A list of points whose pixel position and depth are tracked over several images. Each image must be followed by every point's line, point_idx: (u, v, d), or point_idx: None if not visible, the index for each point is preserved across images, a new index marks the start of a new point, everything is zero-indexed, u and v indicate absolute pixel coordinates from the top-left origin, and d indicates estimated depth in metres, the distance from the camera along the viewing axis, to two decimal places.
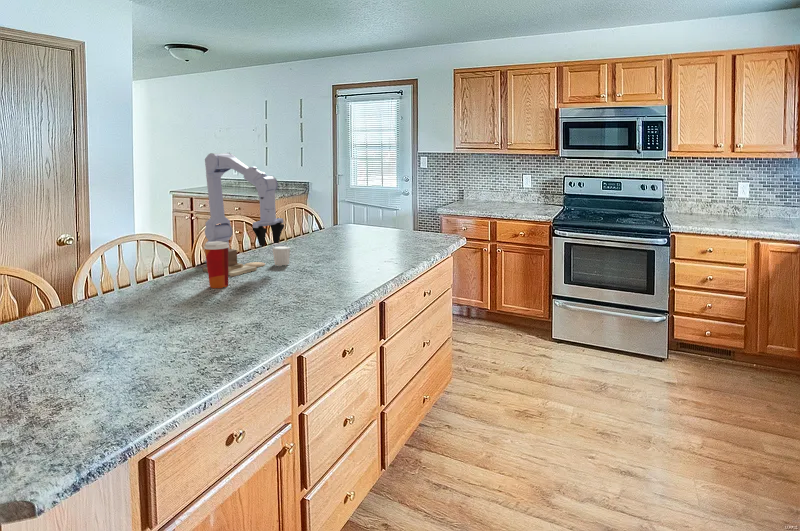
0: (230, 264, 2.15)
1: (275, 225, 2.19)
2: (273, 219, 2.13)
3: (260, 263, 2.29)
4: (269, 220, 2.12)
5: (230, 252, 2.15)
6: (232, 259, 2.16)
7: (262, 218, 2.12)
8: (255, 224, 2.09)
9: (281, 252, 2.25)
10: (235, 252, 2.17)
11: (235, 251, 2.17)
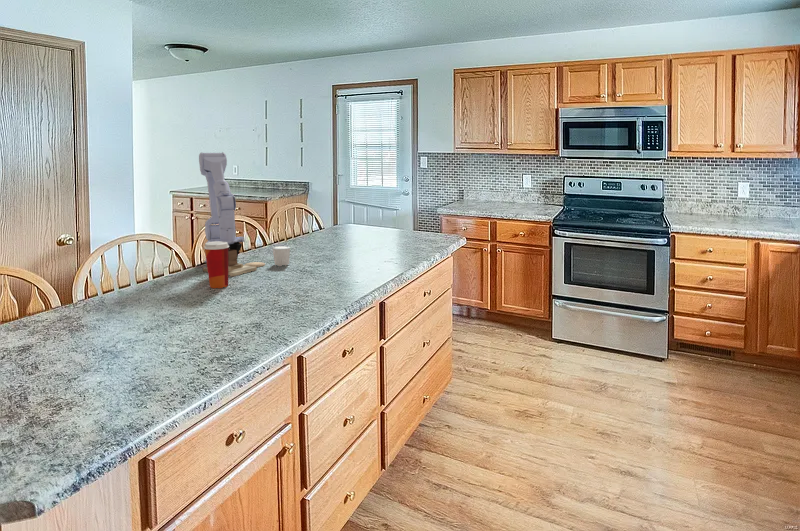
0: (230, 264, 2.15)
1: (233, 244, 2.18)
2: (233, 238, 2.14)
3: (260, 263, 2.29)
4: (228, 239, 2.13)
5: (230, 252, 2.15)
6: (232, 259, 2.16)
7: (221, 237, 2.13)
8: None
9: (281, 253, 2.25)
10: (235, 252, 2.17)
11: (235, 251, 2.17)
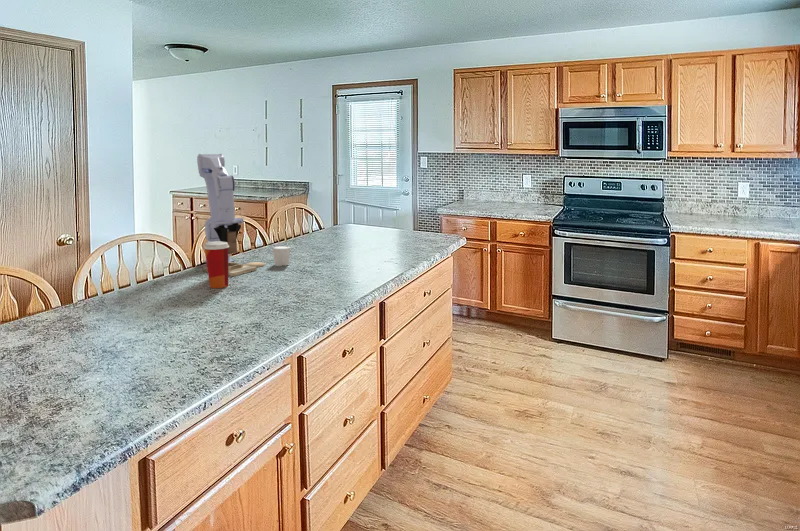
0: (229, 246, 2.14)
1: (232, 225, 2.16)
2: (231, 219, 2.12)
3: (260, 263, 2.29)
4: (227, 220, 2.11)
5: (229, 234, 2.13)
6: (231, 241, 2.14)
7: (220, 218, 2.11)
8: (212, 224, 2.08)
9: (281, 252, 2.25)
10: (235, 234, 2.15)
11: (234, 233, 2.15)
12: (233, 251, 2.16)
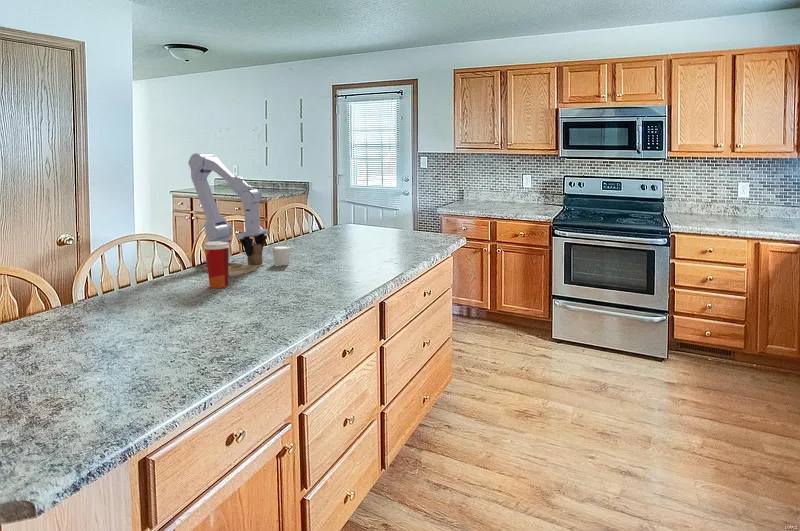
0: (255, 258, 2.25)
1: (258, 236, 2.28)
2: (257, 230, 2.23)
3: None
4: (253, 231, 2.22)
5: (255, 246, 2.24)
6: (257, 253, 2.25)
7: (247, 229, 2.22)
8: (240, 235, 2.19)
9: (281, 252, 2.25)
10: (260, 247, 2.26)
11: (260, 245, 2.26)
12: (259, 263, 2.26)
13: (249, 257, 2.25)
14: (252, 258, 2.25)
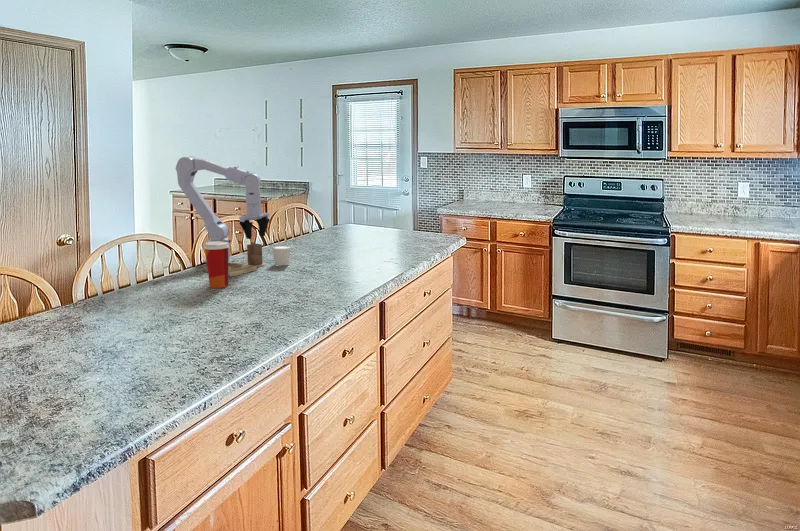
0: (255, 258, 2.25)
1: (261, 219, 2.33)
2: (259, 213, 2.28)
3: None
4: (255, 214, 2.27)
5: (256, 246, 2.24)
6: (257, 253, 2.25)
7: (248, 213, 2.27)
8: (241, 218, 2.23)
9: (281, 252, 2.25)
10: (260, 247, 2.26)
11: (260, 245, 2.26)
12: (259, 263, 2.26)
13: (249, 257, 2.25)
14: (252, 258, 2.25)
